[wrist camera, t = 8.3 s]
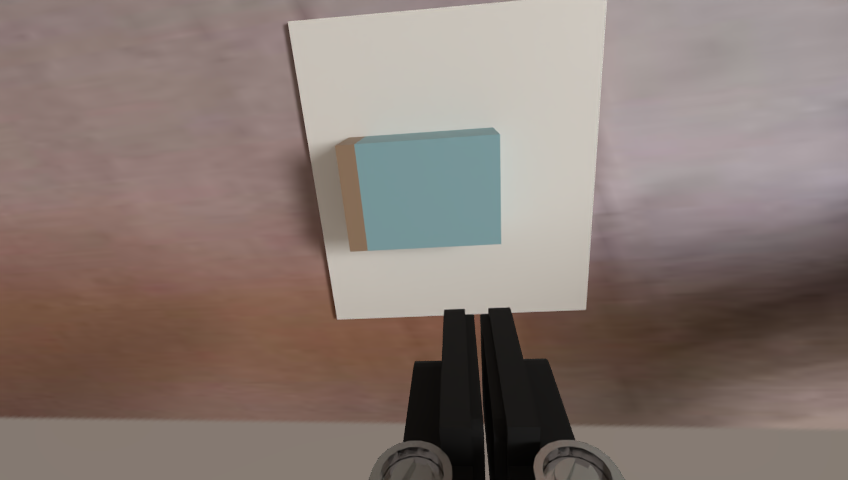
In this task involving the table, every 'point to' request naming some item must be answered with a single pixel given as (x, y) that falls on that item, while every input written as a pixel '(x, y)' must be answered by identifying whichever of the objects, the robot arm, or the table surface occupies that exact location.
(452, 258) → the board
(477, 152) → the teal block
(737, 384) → the table surface
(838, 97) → the table surface
